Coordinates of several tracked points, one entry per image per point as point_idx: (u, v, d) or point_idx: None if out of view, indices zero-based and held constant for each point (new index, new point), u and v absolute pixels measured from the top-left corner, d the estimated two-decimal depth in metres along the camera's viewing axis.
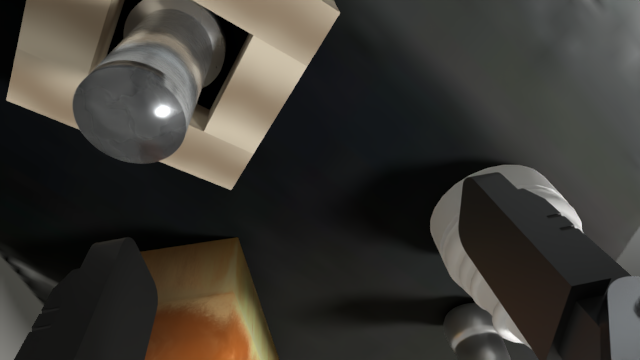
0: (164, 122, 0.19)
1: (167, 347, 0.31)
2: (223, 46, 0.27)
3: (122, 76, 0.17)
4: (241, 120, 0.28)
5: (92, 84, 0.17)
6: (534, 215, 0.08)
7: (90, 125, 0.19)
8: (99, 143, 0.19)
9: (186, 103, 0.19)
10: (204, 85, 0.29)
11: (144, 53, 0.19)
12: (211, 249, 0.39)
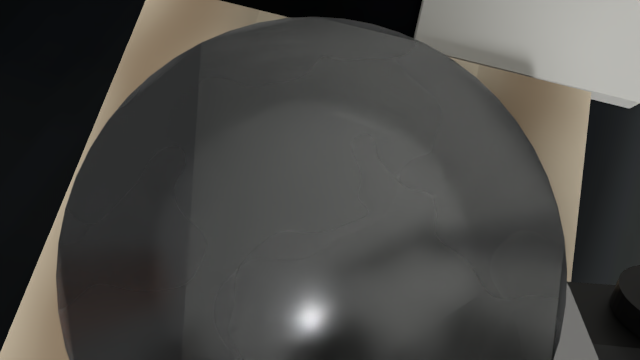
0: None
1: None
2: None
3: (518, 197, 0.04)
4: None
5: (439, 87, 0.04)
6: None
7: (244, 75, 0.04)
8: (153, 108, 0.04)
9: None
10: None
11: None
12: None
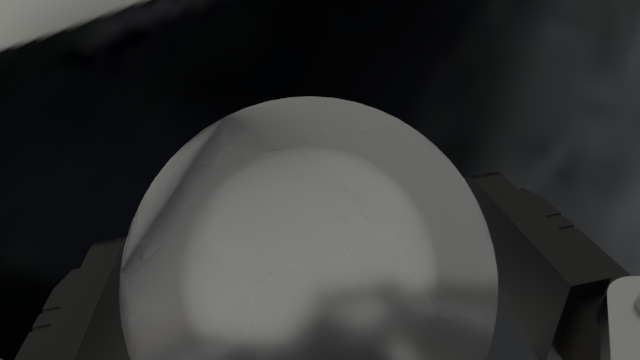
0: None
1: None
2: None
3: (464, 240, 0.05)
4: None
5: (407, 153, 0.06)
6: (534, 215, 0.08)
7: (256, 143, 0.06)
8: (188, 170, 0.05)
9: None
10: None
11: None
12: None
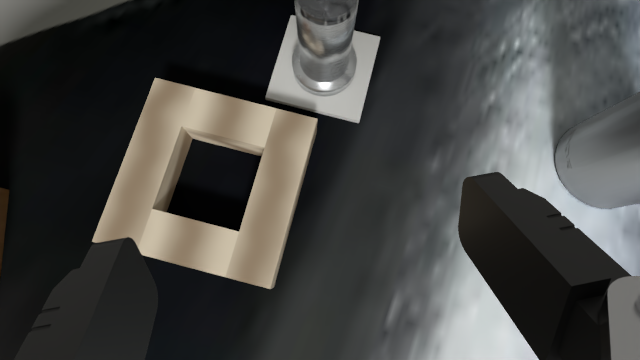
0: (329, 5, 0.29)
1: None
2: (332, 89, 0.39)
3: None
4: (168, 236, 0.34)
5: None
6: (534, 215, 0.08)
7: None
8: None
9: (339, 22, 0.30)
10: (301, 79, 0.39)
11: None
12: None
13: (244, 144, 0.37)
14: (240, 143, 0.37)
